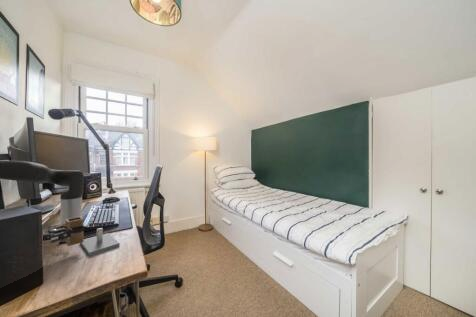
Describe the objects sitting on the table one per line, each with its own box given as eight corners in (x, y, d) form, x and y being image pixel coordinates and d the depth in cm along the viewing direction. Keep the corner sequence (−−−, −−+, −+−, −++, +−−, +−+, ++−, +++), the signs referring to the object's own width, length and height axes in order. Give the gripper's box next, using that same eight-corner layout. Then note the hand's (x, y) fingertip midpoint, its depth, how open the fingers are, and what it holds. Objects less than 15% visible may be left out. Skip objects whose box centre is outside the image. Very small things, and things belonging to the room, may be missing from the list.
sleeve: (65, 242, 78) (65, 219, 77) (81, 238, 82) (80, 216, 81) (67, 246, 74) (67, 222, 74) (83, 241, 78) (83, 218, 78)
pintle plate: (80, 243, 86) (80, 227, 86) (108, 235, 94) (108, 221, 94) (89, 256, 75) (89, 238, 75) (119, 246, 83) (119, 230, 83)
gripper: (23, 235, 62) (86, 221, 75) (22, 225, 71) (79, 214, 84) (23, 257, 62) (86, 239, 75) (22, 244, 72) (79, 230, 85)
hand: (82, 226), depth 80 cm, fingers closed on sleeve, 5 cm apart
